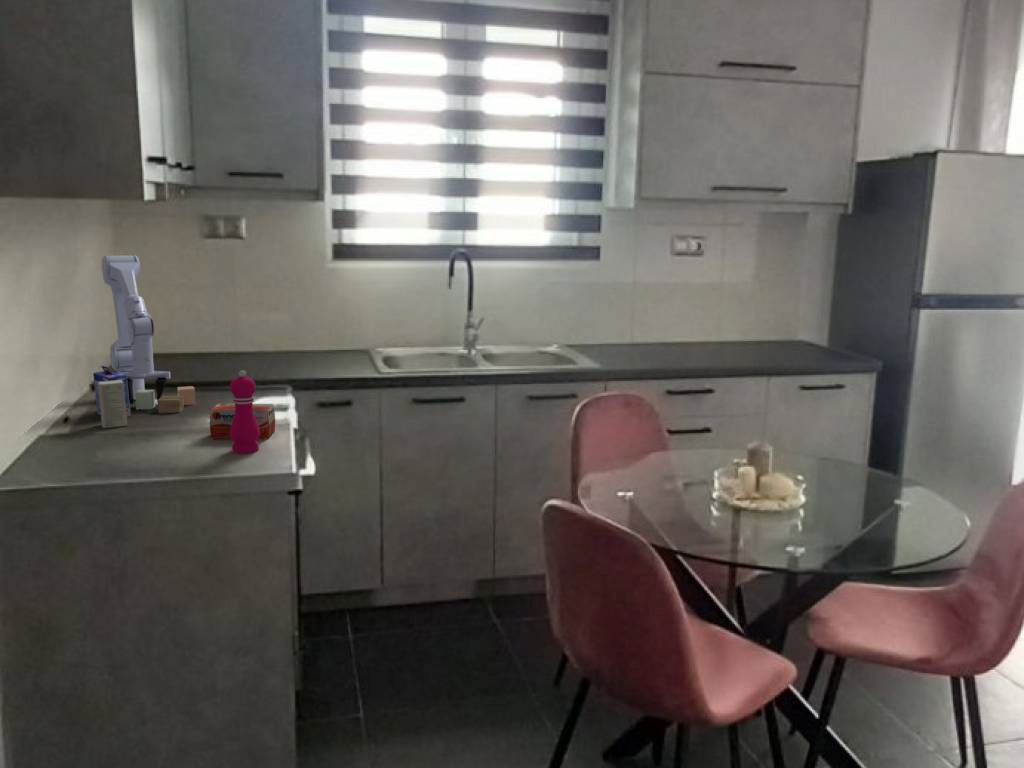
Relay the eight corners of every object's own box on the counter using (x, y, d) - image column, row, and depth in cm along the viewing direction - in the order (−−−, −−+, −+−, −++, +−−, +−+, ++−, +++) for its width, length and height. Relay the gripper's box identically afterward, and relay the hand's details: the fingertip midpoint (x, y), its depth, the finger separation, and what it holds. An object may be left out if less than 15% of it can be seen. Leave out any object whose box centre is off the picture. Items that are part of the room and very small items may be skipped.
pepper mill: (224, 450, 213) (220, 370, 209) (250, 444, 218) (247, 366, 215) (240, 455, 208) (237, 374, 205) (266, 450, 214) (263, 370, 210)
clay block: (178, 403, 265) (177, 387, 264) (193, 402, 267) (192, 386, 266) (180, 406, 261) (179, 389, 260) (195, 404, 263) (194, 388, 262)
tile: (144, 400, 267) (143, 398, 267) (168, 399, 269) (167, 398, 268) (139, 405, 260) (139, 403, 260) (164, 404, 262) (163, 403, 262)
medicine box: (275, 432, 232) (274, 403, 231) (269, 439, 224) (268, 409, 223) (218, 432, 231) (216, 403, 230) (210, 440, 223) (208, 409, 222)
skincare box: (125, 422, 239) (122, 379, 237) (127, 426, 235) (124, 382, 233) (100, 425, 236) (97, 381, 234) (102, 428, 232) (98, 384, 230)
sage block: (139, 406, 259) (138, 390, 258) (155, 406, 260) (154, 389, 259) (136, 409, 255) (135, 393, 254) (152, 409, 256) (151, 392, 255)
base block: (163, 409, 257) (162, 396, 256) (184, 408, 258) (183, 395, 257) (158, 413, 251) (157, 400, 250) (180, 413, 252) (179, 399, 251)
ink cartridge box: (95, 414, 248) (91, 364, 245) (114, 411, 252) (110, 362, 250) (112, 419, 242) (108, 368, 239) (131, 416, 246) (127, 366, 243)
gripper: (113, 360, 249) (116, 406, 252) (166, 359, 252) (169, 405, 255) (118, 356, 256) (121, 401, 259) (170, 355, 259) (173, 400, 262)
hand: (145, 402), depth 257 cm, fingers open, 7 cm apart
